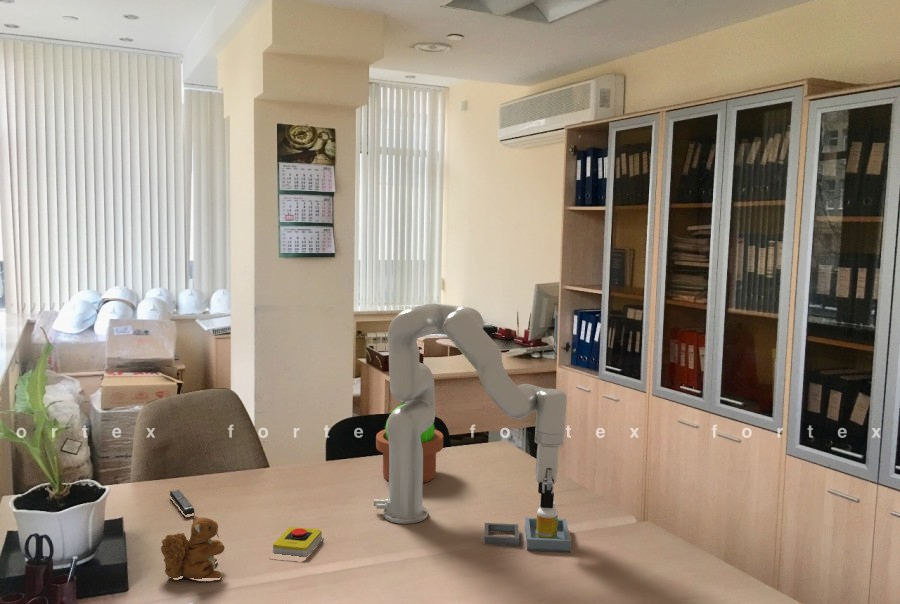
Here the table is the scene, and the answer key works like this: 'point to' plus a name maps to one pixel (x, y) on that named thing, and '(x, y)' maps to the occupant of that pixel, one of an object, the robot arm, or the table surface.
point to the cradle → (501, 539)
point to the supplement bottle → (547, 522)
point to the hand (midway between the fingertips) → (545, 500)
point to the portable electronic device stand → (182, 502)
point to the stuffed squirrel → (193, 551)
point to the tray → (545, 544)
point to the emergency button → (297, 541)
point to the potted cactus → (430, 445)
